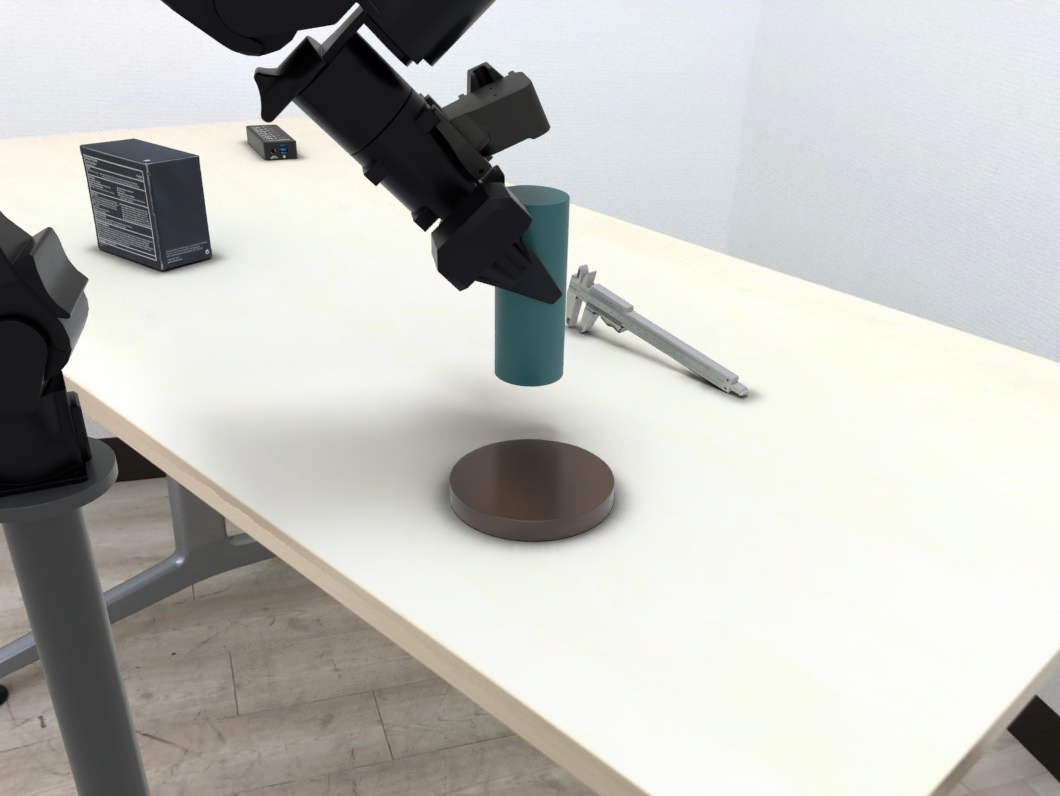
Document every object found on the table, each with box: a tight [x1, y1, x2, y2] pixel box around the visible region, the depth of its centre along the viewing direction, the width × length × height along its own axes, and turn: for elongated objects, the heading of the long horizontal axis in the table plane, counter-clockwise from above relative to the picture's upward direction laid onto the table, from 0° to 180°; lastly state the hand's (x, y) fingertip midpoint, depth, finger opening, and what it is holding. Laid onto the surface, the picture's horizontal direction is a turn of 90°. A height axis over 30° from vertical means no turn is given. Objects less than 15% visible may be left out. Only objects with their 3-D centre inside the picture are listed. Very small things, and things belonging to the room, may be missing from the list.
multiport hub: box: [245, 124, 299, 161], centre depth 146 cm, size 4×11×2 cm, turn 30°
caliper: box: [565, 263, 750, 397], centre depth 91 cm, size 20×1×6 cm, turn 49°
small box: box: [79, 137, 213, 271], centre depth 104 cm, size 11×6×10 cm, turn 58°
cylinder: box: [494, 184, 571, 388], centre depth 73 cm, size 5×5×13 cm
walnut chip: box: [448, 438, 615, 542], centre depth 70 cm, size 11×11×2 cm
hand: (549, 286), depth 73 cm, fingers closed on cylinder, 5 cm apart
